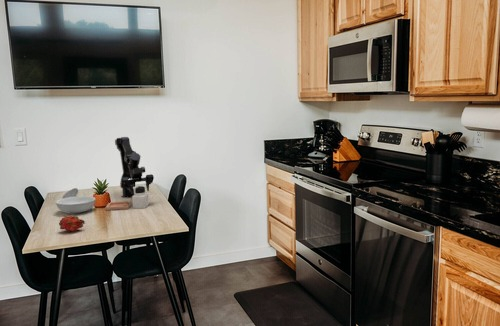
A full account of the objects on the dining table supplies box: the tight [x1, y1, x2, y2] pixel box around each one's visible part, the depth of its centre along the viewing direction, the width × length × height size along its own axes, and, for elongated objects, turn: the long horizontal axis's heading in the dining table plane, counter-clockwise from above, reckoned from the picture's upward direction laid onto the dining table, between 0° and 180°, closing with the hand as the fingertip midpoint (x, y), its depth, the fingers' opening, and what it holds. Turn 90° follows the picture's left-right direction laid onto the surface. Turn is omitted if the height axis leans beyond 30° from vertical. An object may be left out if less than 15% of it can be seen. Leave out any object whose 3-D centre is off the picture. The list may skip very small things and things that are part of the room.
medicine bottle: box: [131, 186, 150, 209], centre depth 249 cm, size 7×7×12 cm
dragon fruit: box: [58, 215, 86, 233], centre depth 206 cm, size 8×8×12 cm
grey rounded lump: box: [61, 187, 79, 199], centre depth 267 cm, size 11×10×10 cm
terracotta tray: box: [105, 200, 132, 212], centre depth 250 cm, size 12×12×2 cm
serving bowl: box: [55, 195, 96, 214], centre depth 244 cm, size 21×21×7 cm
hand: (140, 192), depth 248 cm, fingers open, 9 cm apart
